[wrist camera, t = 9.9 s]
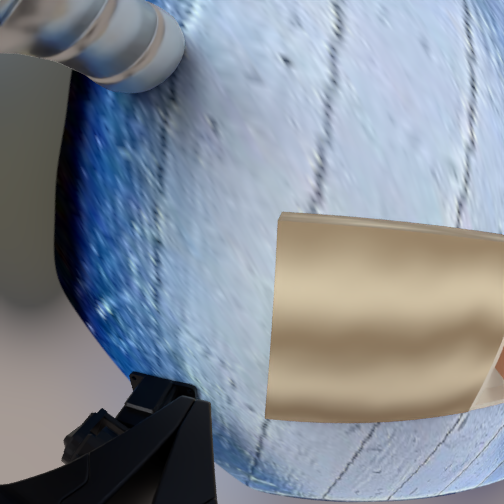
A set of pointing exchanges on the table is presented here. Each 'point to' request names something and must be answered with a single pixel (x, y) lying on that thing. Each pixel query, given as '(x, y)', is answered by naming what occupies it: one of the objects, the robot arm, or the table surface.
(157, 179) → the table surface
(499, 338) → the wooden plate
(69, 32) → the plastic bottle
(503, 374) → the tile
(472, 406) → the tray
